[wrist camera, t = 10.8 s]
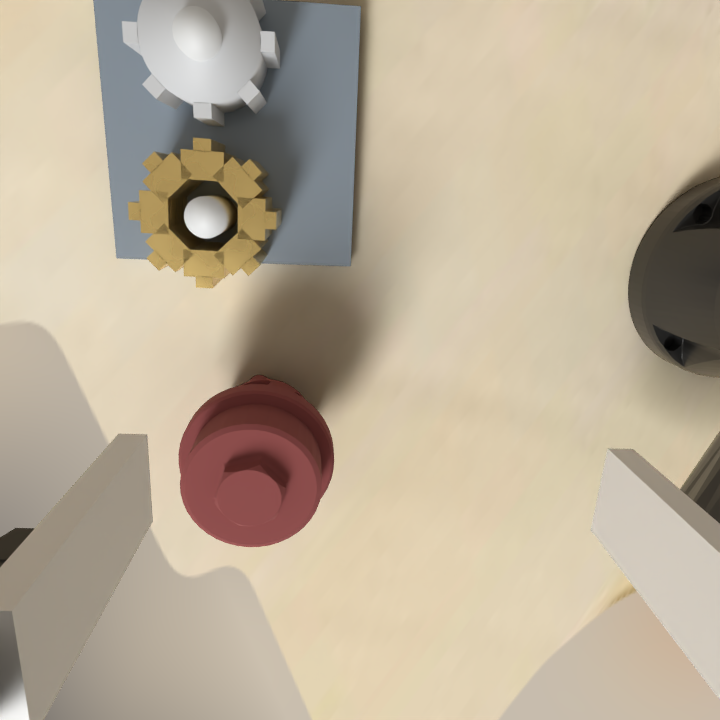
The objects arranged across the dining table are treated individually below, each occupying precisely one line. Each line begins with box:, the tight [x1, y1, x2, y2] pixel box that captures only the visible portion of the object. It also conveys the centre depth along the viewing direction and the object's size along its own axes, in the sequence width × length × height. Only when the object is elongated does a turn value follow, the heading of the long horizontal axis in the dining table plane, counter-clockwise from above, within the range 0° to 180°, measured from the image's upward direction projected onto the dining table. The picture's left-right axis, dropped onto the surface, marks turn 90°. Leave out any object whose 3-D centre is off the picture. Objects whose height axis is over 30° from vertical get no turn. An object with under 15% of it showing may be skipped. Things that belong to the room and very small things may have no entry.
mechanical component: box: [179, 375, 334, 547], centre depth 37 cm, size 12×10×10 cm
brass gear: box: [128, 138, 282, 288], centre depth 34 cm, size 8×8×5 cm
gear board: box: [93, 0, 361, 266], centre depth 33 cm, size 16×17×7 cm
